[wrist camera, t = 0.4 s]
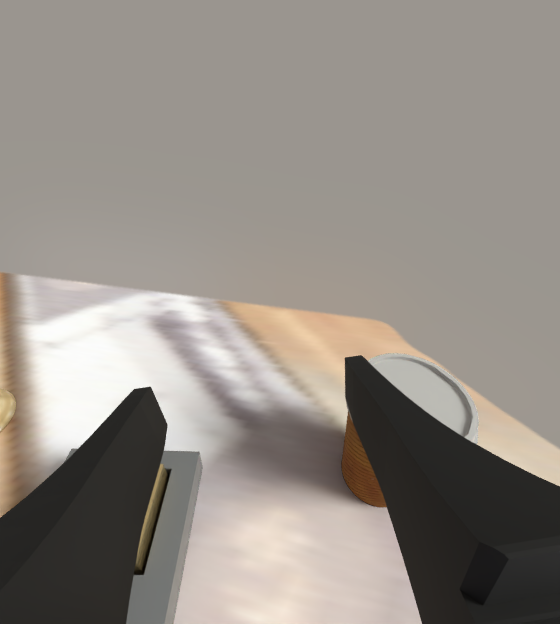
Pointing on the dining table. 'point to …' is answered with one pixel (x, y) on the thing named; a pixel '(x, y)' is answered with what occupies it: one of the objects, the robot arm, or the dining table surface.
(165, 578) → the panel
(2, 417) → the hand bell
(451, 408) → the disposable coffee cup
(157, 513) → the brass button
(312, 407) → the dining table surface
